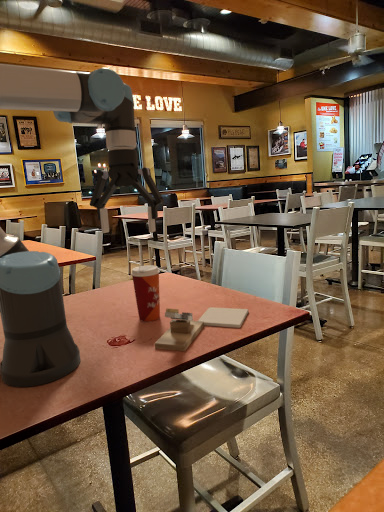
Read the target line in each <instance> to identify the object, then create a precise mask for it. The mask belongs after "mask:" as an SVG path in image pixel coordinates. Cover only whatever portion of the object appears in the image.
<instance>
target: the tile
mask: <svg viewBox="0 0 384 512" xmlns="http://www.w3.org/2000/svg"><path fill="white" fill-rule="evenodd" d="M248 314H249V309H248V308H232V307H231V308H229V307H213V306H212V307H208V308H207V309H206V310H205V312H204V313H203V314H202V315H201V316H200V317H199V319H198V320H197V321H203V322H204V326H209V327H224V328H235V329H239V328H241V327H242V325H243V324H244V321H245V320H246V317H247V315H248Z"/></svg>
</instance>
